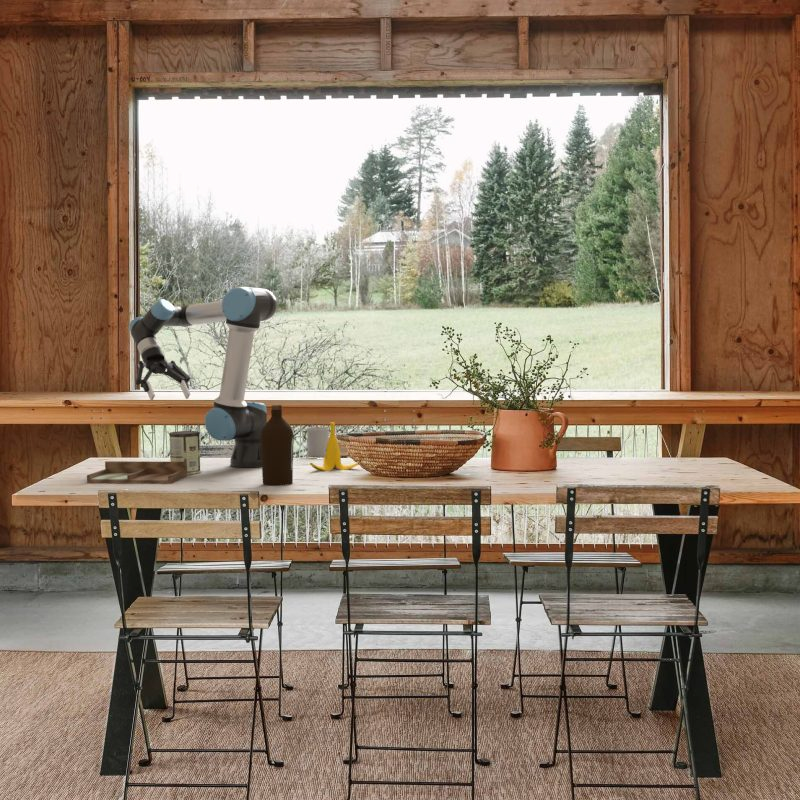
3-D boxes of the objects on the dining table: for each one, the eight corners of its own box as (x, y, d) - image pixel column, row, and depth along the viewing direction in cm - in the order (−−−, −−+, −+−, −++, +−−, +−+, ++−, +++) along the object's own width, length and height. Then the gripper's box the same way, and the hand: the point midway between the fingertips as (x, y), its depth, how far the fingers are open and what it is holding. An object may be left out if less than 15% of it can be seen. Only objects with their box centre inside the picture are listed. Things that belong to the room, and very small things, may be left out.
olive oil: (264, 487, 305) (263, 406, 303) (257, 482, 315) (256, 404, 313) (298, 485, 308) (297, 405, 307) (290, 480, 318) (288, 403, 317)
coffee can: (180, 470, 346) (179, 430, 345) (206, 471, 342) (205, 431, 341) (164, 474, 336) (163, 433, 335) (190, 475, 333) (189, 434, 332)
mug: (323, 457, 379) (323, 429, 378) (303, 457, 382) (303, 428, 381) (336, 454, 390) (335, 426, 390) (316, 453, 393) (316, 426, 392)
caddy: (187, 476, 330) (186, 461, 330) (171, 483, 314) (171, 467, 314) (106, 475, 333) (106, 461, 332) (87, 482, 317) (86, 467, 316)
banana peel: (309, 472, 338) (308, 424, 337) (324, 465, 357) (323, 419, 356) (355, 473, 335) (355, 424, 334) (368, 466, 354) (368, 420, 352)
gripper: (179, 359, 366) (198, 402, 356) (115, 360, 350) (134, 405, 339) (185, 345, 361) (206, 388, 351) (121, 346, 345) (140, 391, 335)
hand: (170, 397), depth 345 cm, fingers open, 13 cm apart
